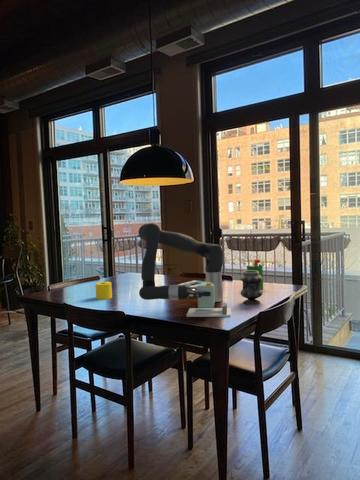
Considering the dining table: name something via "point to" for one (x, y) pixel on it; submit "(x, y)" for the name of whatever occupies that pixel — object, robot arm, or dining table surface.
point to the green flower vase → (257, 268)
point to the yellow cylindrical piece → (103, 290)
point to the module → (206, 300)
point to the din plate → (210, 312)
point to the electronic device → (193, 283)
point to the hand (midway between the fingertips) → (210, 292)
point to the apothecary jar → (251, 287)
